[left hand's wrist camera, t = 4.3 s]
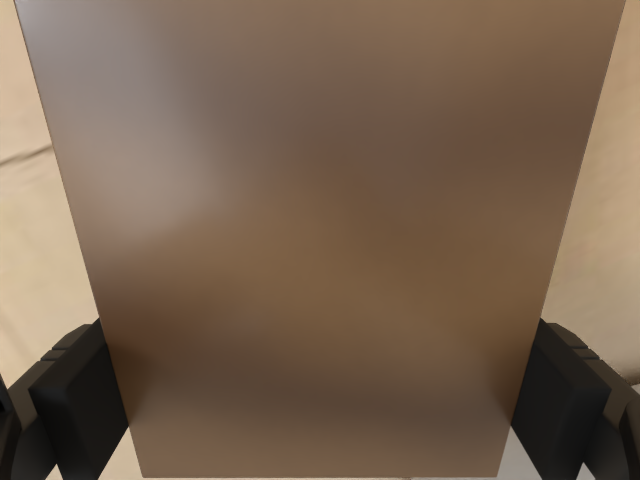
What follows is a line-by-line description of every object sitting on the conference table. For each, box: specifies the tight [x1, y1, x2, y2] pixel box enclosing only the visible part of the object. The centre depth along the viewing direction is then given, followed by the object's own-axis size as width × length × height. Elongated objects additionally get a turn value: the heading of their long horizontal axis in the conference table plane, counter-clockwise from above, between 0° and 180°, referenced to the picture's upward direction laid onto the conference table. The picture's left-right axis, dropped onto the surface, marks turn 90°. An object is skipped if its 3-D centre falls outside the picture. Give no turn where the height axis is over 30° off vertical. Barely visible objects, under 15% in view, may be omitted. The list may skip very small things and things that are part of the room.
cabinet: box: [14, 0, 626, 478], centre depth 12 cm, size 20×10×12 cm, turn 0°
